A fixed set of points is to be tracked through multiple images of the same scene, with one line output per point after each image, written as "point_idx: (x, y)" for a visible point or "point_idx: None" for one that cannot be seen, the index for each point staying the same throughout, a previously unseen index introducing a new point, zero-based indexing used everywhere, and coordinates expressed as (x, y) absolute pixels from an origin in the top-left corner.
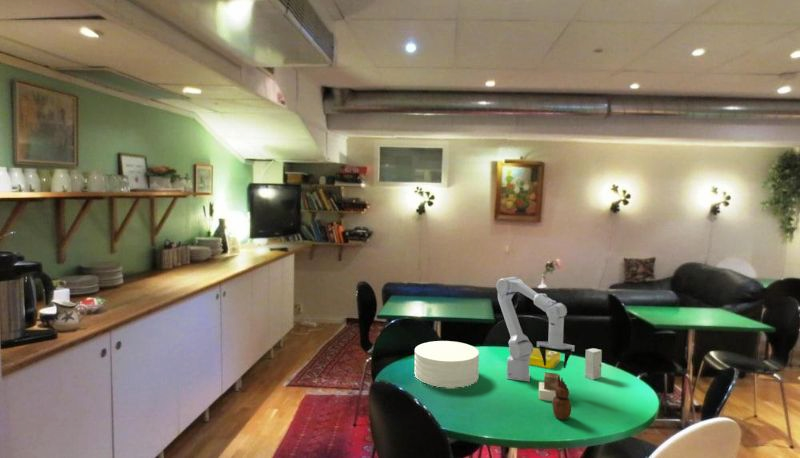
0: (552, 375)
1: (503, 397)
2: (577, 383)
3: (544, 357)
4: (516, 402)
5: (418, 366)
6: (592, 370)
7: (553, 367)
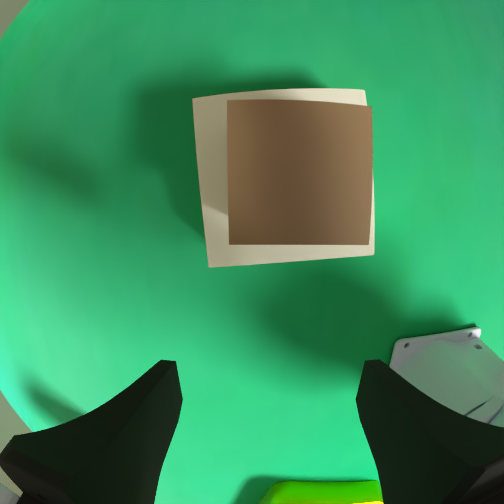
0: (289, 163)
1: (489, 98)
2: None
3: (418, 408)
4: (437, 49)
5: None
6: None
7: (270, 488)
